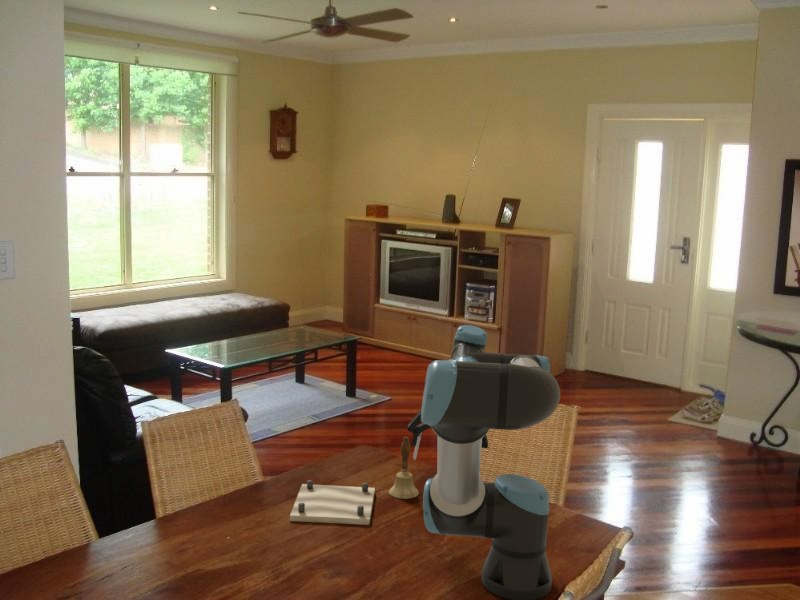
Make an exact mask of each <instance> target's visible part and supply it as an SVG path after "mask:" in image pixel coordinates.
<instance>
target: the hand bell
mask: <svg viewBox="0 0 800 600" xmlns="http://www.w3.org/2000/svg"><path fill="white" fill-rule="evenodd" d="M409 439H410V438H409V437H408V436H404V437H403V439H402V442H401V445H400V453H401V459H402V460H401V471H399V472H397V473H396V476H395V480H394V484H393V485H392V487H390V489H389V490H388V494H389V495H390V496H391V497H393V498H396V499H400V500H401V499H402V500H408V499H413V498H416V497H418V496H419V494H420V492H419V490H418V489H417V488H416V486H415V483H414V479H413V474H412V473H411V472H409V471H408V469H409V456H410V453H411V444H410V443H411V442H410V440H409Z"/></svg>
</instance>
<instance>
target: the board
mask: <svg viewBox="0 0 800 600" xmlns="http://www.w3.org/2000/svg"><path fill="white" fill-rule="evenodd" d="M375 490H376V488H375V487H370V486H369V483H368V482H362V484H361V486H348V485H347V486H346V485H345V486H344V485H331V484H330V485H329V484H328V485H327V484H324V485H323V484H314V481H313V480H312V479H308V480H306V483H302V484H301V486H300V488H299V491H298V493H297V496H296V499H295V501H294V504H293V506H292V509H291V511H290V514H289V521H290V522H304V523H305V522H306V523H308V522H309V523H323V524H324V523H326V524H343V525H347V524H348V525H361V526H363V525H364V526H369V525H370V524H371V523H370V522H371V518H372V517H371V516H372V510H373V506H374V505H373V504H374V498H375V493H376V492H375Z"/></svg>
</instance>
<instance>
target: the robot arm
mask: <svg viewBox="0 0 800 600" xmlns="http://www.w3.org/2000/svg"><path fill="white" fill-rule="evenodd" d="M487 342H488V334H487V332H486V331H485V330H484V329H482V328H481V327H478V326H476V325H475V326H474V325H470V324H465V325H460V326H459V327H457V330H456V332H455V336H454V337H453V345H452V348H451V353H450V358H449V359H447V360H444V359H443V360H440V359H438V360H437V359H436V360H434V361H431V362H430V364H428V367H427V370H426V375H425V381H424V388H423V392H422V393H423V395H422V401H421V409H420V410H419V411H418V412H417V414H416V415H415V416H414V417H413V418H412V419H411V420H410V422H409V423H408V424H407V428H406V430H407V432H410V433H412V439H411V446H412V447H414V451H413V454H412V455H413V456H412V460H415V461H416V459H417V456H418V451H419V447H420V442H421V438H422V433H423V432H425V431H426V430H428V429H430V428H431V429H432V431H433V432H434V433H435V435H436V436H437V438H436V439H437V440H436V441H437V442H436V443H437V447H436V448H437V452H436V453H437V455H436V456H437V458H436V459H437V462H436V463H437V464H436V466H437V467H436V468H437V469H436V472H437V473H436V474H435V475H434V477H432V478H428V479H427V480H426V481H425V483H424V487H423V488H424V489H423V494H422V495H423V496H422V497H423V498H422V511H423V521H424V526H425V528H426V530H427V531H428V532H430V533H431V534H437V535H438V534H439V535H441V536H458V537H459V536H460V537H474V538H486V539H491V547H490V550H489V551H488V554H487V557H486V559H485V561H484V564H483V566H482V570H481V583H482V585H483V587H484V588H486V590H487V591H488V592H490V593H492V594H493V595H495V596H498V597H500V598H504V599H507V600H539V599H542V598H544V597H546V596H547V595H548V594H550V592H551V590H552V583H553V582H552V581H553V579H552V578H553V576H552V572H551V569H550V565H549V561H548V557H547V554H546V551H547V549H546V548H547V538H548V537H547V536H548V522H549V521H548V520H549V514H550V511H551V509H550V495H549V492H548V490H547V488H546V487H545V486H544V485H543V484H542V483H540V482H539V481H537V480H536V479H532V478H530V477H527V476H524V475H520V474H514V473H512V474H511V473H506V474H500V475H498V476H497V477H496V479H495V480H494V482H487V481H483V479H482V477H481V476H480V472H481V471H480V469H481V459H482V449H483V448H484V449H488V447H489V440H488V435H487V434H488V432H489V431H490V430H502V431H503V430H507V431H514V430H521V429H522V430H523V429H527V428H530V427H533V426H536V425H539V423H542V422H544V421H545V420H547V419H549V418H550V416H552V415H553V414H554V412H555V411H556V410H557V408H558V406H559V404H560V402H561V401H560V400H561V388H560V386H559V383H558V381H557V379H556V377H555V376H554V375H553V374H552V373H551V364H550V359H549V357H548V356H542V355H537V354H514V353H513V354H512V353H510V354H509V353H500V352H499V353H498V352H485V350H486V347H487ZM420 422H421V423H420ZM419 423H420V424H419Z"/></svg>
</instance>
